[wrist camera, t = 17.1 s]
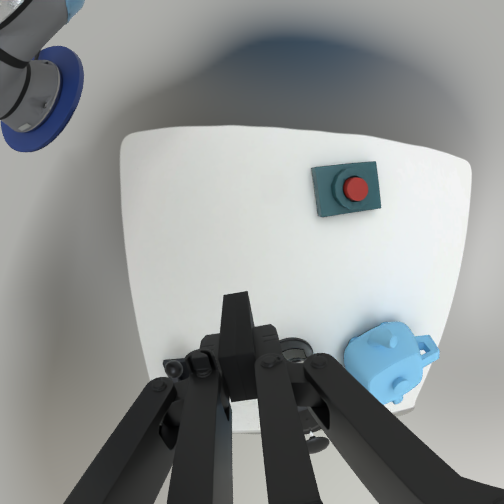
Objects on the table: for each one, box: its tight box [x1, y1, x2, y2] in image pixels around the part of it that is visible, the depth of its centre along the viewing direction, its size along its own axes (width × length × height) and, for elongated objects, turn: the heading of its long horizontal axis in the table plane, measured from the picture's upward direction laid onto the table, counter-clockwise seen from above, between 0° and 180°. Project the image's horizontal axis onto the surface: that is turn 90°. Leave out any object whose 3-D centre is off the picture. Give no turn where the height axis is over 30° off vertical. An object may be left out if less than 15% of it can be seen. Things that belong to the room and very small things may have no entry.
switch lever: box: [165, 360, 183, 383], centre depth 43 cm, size 13×3×3 cm, turn 10°
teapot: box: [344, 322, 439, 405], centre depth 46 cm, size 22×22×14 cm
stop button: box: [343, 177, 368, 201], centre depth 41 cm, size 4×4×2 cm
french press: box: [279, 338, 329, 454], centre depth 42 cm, size 12×9×23 cm
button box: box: [311, 161, 381, 217], centre depth 43 cm, size 8×11×4 cm
